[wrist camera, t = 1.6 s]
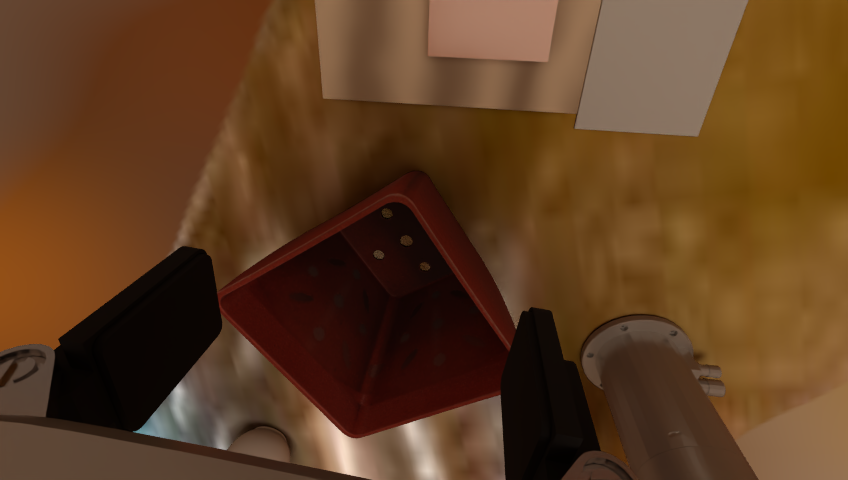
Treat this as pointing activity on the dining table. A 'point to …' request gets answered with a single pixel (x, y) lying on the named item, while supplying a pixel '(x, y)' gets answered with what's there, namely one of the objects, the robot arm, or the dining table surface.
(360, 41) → the board
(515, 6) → the block
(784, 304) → the dining table surface
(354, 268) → the plant pot
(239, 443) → the lidded jar
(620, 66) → the mat
